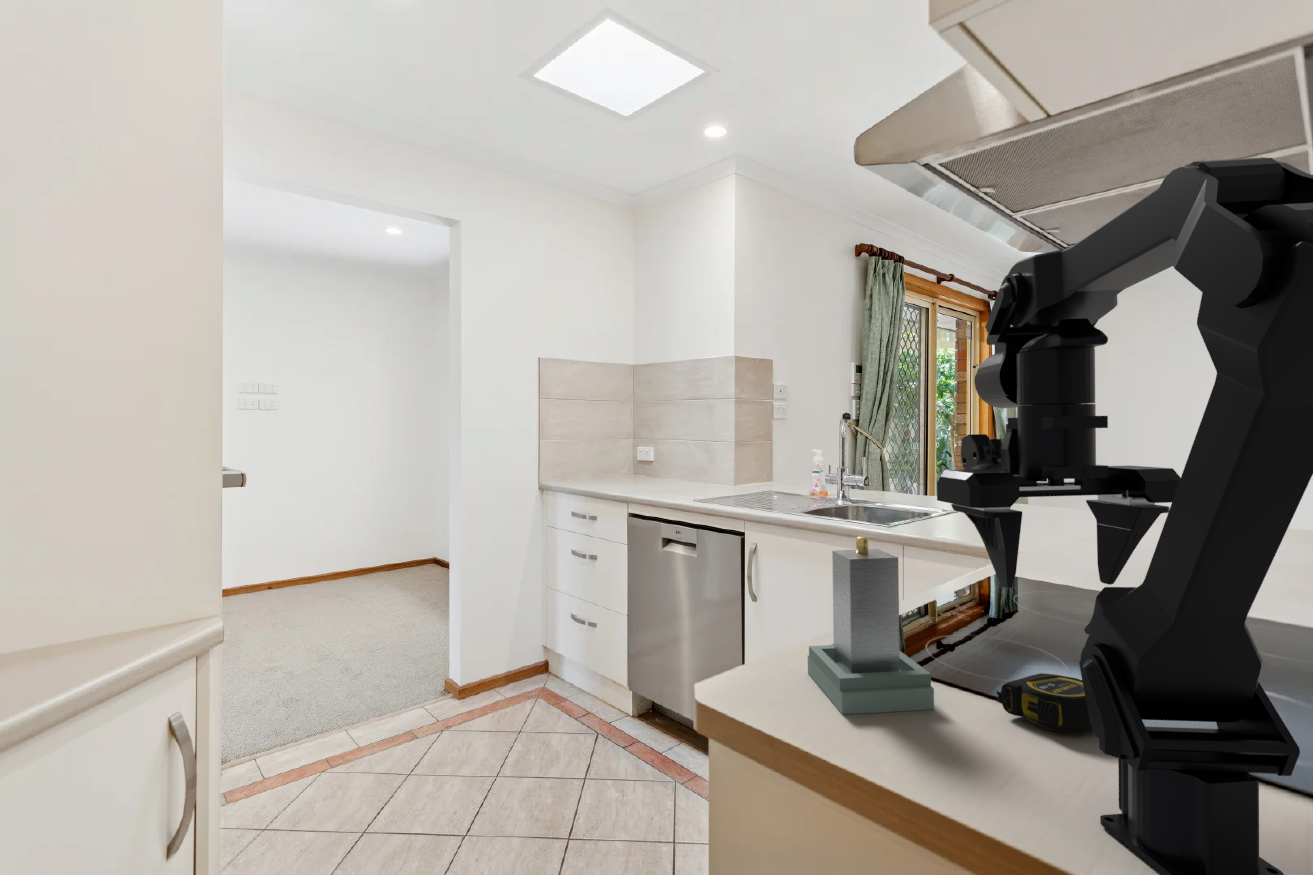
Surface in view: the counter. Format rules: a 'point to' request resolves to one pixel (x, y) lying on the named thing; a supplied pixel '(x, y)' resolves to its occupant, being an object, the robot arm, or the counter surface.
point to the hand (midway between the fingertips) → (1056, 585)
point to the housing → (865, 609)
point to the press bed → (871, 685)
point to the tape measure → (1048, 702)
